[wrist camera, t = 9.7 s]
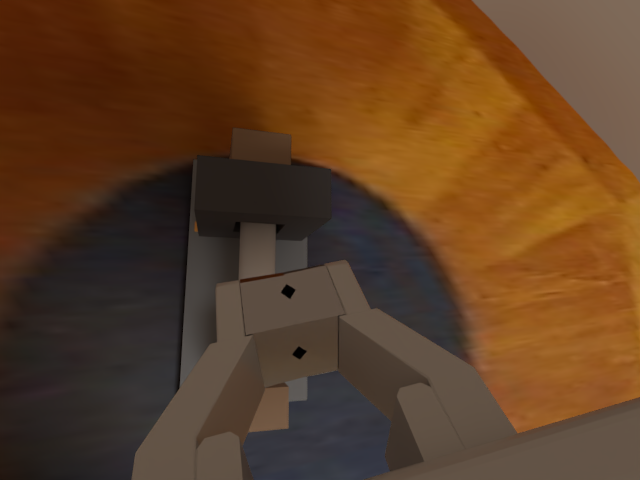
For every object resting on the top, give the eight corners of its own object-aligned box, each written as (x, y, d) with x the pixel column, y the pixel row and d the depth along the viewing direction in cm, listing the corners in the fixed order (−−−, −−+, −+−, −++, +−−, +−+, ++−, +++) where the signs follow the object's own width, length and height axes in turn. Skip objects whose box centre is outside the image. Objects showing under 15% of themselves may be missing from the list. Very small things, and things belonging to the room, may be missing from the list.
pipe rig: (303, 396, 38) (332, 424, 29) (179, 405, 35) (168, 440, 25) (304, 175, 42) (329, 138, 33) (194, 164, 39) (188, 121, 30)
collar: (301, 241, 38) (331, 218, 28) (198, 236, 35) (194, 209, 25) (301, 203, 38) (330, 169, 29) (201, 195, 36) (197, 155, 26)
